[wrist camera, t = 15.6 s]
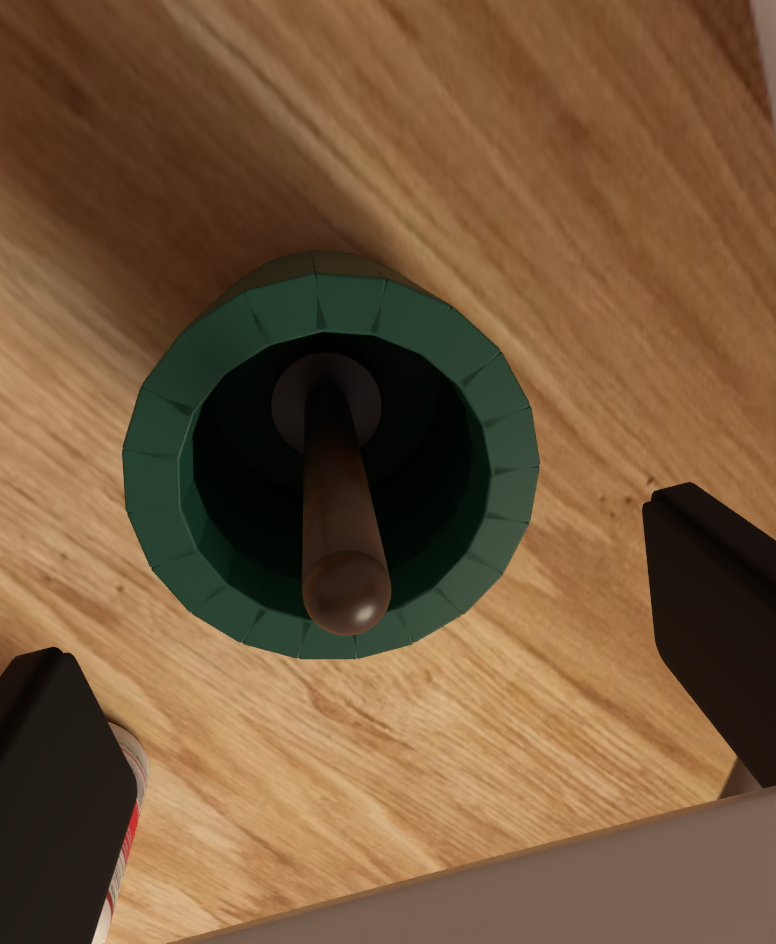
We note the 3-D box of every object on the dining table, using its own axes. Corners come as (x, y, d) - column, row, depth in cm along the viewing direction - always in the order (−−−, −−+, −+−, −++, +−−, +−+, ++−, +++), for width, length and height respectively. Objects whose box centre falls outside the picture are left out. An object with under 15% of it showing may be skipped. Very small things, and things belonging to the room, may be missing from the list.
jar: (422, 221, 25) (503, 223, 15) (471, 466, 29) (562, 604, 18) (156, 288, 24) (50, 339, 14) (242, 526, 28) (206, 700, 18)
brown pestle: (361, 324, 25) (440, 478, 10) (385, 421, 27) (484, 676, 12) (260, 351, 25) (194, 543, 10) (289, 446, 27) (269, 734, 12)
